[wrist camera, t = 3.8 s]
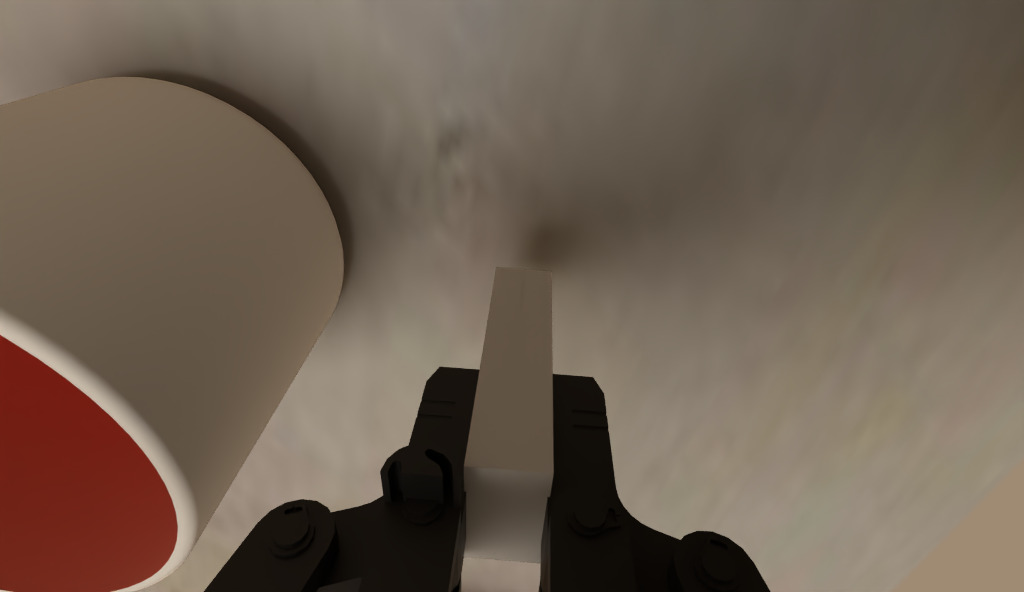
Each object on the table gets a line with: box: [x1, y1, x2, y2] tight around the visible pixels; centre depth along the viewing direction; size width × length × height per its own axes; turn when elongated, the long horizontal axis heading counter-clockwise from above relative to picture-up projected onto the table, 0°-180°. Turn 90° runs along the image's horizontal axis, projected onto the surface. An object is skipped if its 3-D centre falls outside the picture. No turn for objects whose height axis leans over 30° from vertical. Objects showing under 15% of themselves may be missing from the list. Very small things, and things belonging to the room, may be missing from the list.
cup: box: [0, 77, 344, 592], centre depth 14 cm, size 10×10×10 cm
